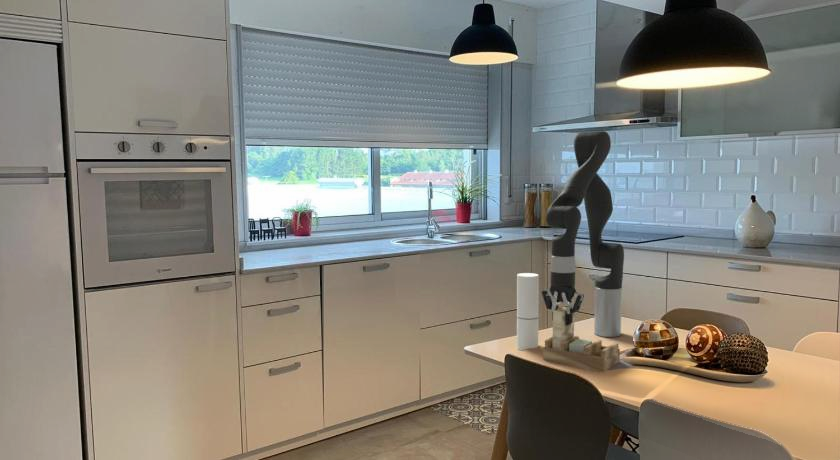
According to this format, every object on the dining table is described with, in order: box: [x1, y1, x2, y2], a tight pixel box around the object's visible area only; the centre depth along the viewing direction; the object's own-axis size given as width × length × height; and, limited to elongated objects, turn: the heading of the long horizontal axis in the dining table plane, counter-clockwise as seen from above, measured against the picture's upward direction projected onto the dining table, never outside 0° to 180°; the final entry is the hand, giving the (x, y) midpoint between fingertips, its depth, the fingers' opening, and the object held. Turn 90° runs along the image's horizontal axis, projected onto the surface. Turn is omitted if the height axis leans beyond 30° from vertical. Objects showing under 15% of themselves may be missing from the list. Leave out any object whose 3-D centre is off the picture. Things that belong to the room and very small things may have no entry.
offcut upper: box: [569, 338, 593, 354], centre depth 201 cm, size 7×5×3 cm, turn 145°
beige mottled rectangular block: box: [552, 306, 575, 350], centre depth 205 cm, size 9×3×15 cm, turn 141°
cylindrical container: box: [516, 272, 540, 352], centre depth 218 cm, size 7×7×25 cm
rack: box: [542, 335, 621, 373], centre depth 201 cm, size 12×19×7 cm, turn 51°
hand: (562, 323), depth 205 cm, fingers open, 3 cm apart
